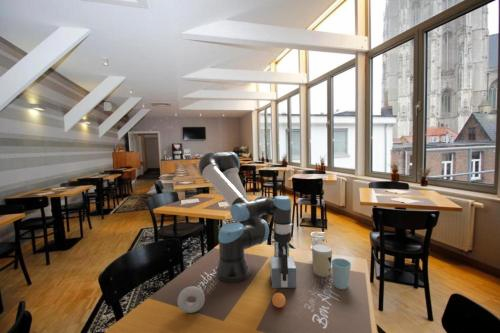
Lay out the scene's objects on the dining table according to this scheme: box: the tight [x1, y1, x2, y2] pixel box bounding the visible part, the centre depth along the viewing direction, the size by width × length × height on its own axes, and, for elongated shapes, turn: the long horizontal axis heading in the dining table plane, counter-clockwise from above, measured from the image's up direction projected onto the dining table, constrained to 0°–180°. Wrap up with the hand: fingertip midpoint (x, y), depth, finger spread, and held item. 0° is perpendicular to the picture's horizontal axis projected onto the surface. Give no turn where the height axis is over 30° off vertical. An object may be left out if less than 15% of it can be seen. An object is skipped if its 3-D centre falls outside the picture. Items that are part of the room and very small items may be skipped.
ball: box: [271, 292, 286, 308], centre depth 92 cm, size 5×5×5 cm
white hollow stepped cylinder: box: [310, 231, 326, 251], centre depth 127 cm, size 7×7×15 cm
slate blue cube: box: [270, 256, 297, 289], centre depth 108 cm, size 10×10×9 cm
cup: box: [331, 257, 352, 290], centre depth 104 cm, size 8×8×10 cm
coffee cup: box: [311, 243, 333, 277], centre depth 115 cm, size 9×9×12 cm
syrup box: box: [274, 240, 290, 257], centre depth 132 cm, size 6×6×14 cm
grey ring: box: [176, 285, 206, 314], centre depth 90 cm, size 10×4×10 cm, turn 100°
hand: (282, 279), depth 109 cm, fingers closed on slate blue cube, 10 cm apart
